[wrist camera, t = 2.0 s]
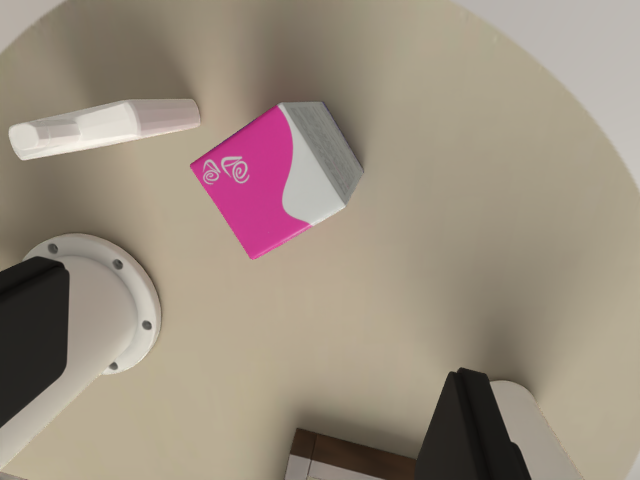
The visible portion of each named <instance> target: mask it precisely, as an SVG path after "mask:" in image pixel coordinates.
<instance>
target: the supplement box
mask: <svg viewBox="0 0 640 480" xmlns="http://www.w3.org/2000/svg"><path fill="white" fill-rule="evenodd" d="M190 167H191V169H192V171H193V172H194V174H195V175H196V177H197V178H198V180H199V181H200V183H201V184H202V186H203V187H204V189H205V190H206V192H207V193H208V194H209V196H210V197H211V199H212V200H213V201H214V203H215V204H216V206H217V207H218V209H219V211H220V212H221V214H222V215H223V217H224V218H225V220H226V221H227V223H228V225H229V226H230V228H231V229H232V231H233V232H234V234H235V235H236V237H237V238H238V240H239V242H240V243H241V245H242V246H243V248H244V249H245V251H246V253H247V254H248V256H249V257H250V259H252V260H253V259H256V258H258V257H260V256H262V255H264V254H266V253H268V252H269V251H271V250H273V249H275V248H276V247H278V246H280V245H282V244H283V243H285V242H287V241H289V240H290V239H292V238H294V237H296V236H297V235H299V234H301V233H302V232H304V231H306V230H308V229H309V228H311V227H313V226H314V225H316V224H318V223H319V222H321V221H323V220H325V219H326V218H328V217H330V216H331V215H333V214H335V213H336V212H338V211H340V210H342V209H343V208H345V207H346V205H347V203H348V201H349V199H350V197H351V195H352V193H353V191H354V189H355V187H356V185H357V183H358V181H359V179H360V177H361V176H362V174H363V173H364V171H363V169H362V167H361V165H360V164H359V162H358V160H357V158H356V157H355V155H354V153H353V152H352V150H351V148H350V146H349V145H348V143H347V141H346V139H345V138H344V136H343V134H342V133H341V131H340V129H339V127H338V126H337V124H336V122H335V121H334V119H333V117H332V116H331V114H330V112H329V110H328V109H327V107H326V105H325V104H324V102H281V103H279V104H277V105H275V106H274V107H272V108H271V109H269V110H268V111H266V112H265V113H264V114H262V115H261V116H259V117H258V118H256V119H255V120H253V121H252V122H251V123H249V124H248V125H246V126H245V127H243V128H242V129H240V130H239V131H237V132H236V133H235V134H233V135H232V136H230V137H229V138H227V139H226V140H225V141H223V142H222V143H220V144H219V145H217V146H216V147H214V148H213V149H212V150H210V151H209V152H207V153H206V154H204V155H203V156H202V157H200V158H199V159H197V160H196V161H194V162H193V163H191V164H190Z"/></svg>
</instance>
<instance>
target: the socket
mask: <svg viewBox="0 0 640 480" xmlns="http://www.w3.org/2000/svg"><path fill="white" fill-rule="evenodd" d="M416 461H417V460H415V459H411V458H408V457H404V456H400V455H396V454H393V453H389V452H385V451H381V450H377V449H374V448H370V447H366V446H362V445H359V444H355V443H351V442H347V441H343V440H340V439H336V438H332V437H328V436H325V435H321V434H316V433H313V432H310V431H306V430H302V429H298V428H297V429H296V432H295V436H294V440H293V443H292V447H291V450H290V454H289V459H288V463H287V468H286V473H285V477H284V480H306V479H307V475H308V476H310V477H313V478H317V479H321V480H414V472H415V465H416Z"/></svg>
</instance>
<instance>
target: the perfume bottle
mask: <svg viewBox="0 0 640 480" xmlns="http://www.w3.org/2000/svg"><path fill="white" fill-rule="evenodd" d="M199 126H200V114H199V110H198V107H197V105H196V103H195V101H194V100H192V99H128V100H124V101H117V102H113V103H108V104H104V105H99V106H95V107H91V108H86V109H82V110H77V111H73V112H69V113H64V114H60V115H55V116H51V117H47V118H42V119H38V120H33V121H29V122H24V123H19V124H15V125H13V126H10V127H9V133H8V134H9V139H10V142H11V144H12V147H13V150H14V151H15V153H16V154H17V156H18V157H19V158H20V159H21V160H28V159H34V158H40V157H45V156H51V155H57V154H63V153H68V152H74V151H80V150H86V149H91V148H97V147H103V146H108V145H113V144H118V143H123V142H128V141H133V140H137V139H142V138H147V137H152V136H157V135H162V134H167V133H171V132H176V131H181V130H186V129H191V128H196V127H199Z"/></svg>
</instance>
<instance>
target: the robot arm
mask: <svg viewBox="0 0 640 480" xmlns="http://www.w3.org/2000/svg"><path fill="white" fill-rule="evenodd" d="M160 326H161V306H160V302H159V299H158V295H157V292H156V290H155V288H154V285H153V283H152V281H151V279H150V278H149V276H148V275H147V273H146V272H145V270H144V269H143V268H142V266H141V265H140V264H139V263H138V262H137V261H136V260H135V259H134V258H133V257H132V256H131V255H129V254H128V253H127V252H126V251H124V250H123V249H122V248H120V247H119V246H117V245H115V244H113V243H111V242H109V241H108V240H105V239H102V238H99V237H96V236H93V235H87V234H80V233H74V234H64V235H60V236H56V237H53V238H51V239H48V240H46V241H44V242H42V243H40V244H38V245H37V246H36V247H34V248H33V249H31V250H30V251H29V253H28V254H27V255H26V256H25V257H24V259H23V260H22V262H21V263H19V264H16V265H14V266H12V267H10V268H8V269H5V270H3V271H1V272H0V470H1V469H2V468H3V467H4V466H5V465H6V464H7V463H8V462H10V461H11V460H12V459H13V458H14V457H15V456H16V455H17V454H18V453H19V452H20V451H21V450H22V449H23V448H24V447H25V446H26V445H27V444H28V443H29V442H30V441H31V440H32V439H33V438H34V437H35V436H36V435H38V434H39V433H40V432H41V431H42V430H43V429H44V428H45V427H46V426H47V425H48V424H49V423H50V422H51V421H52V420H53V419H54V418H55V417H56V416H57V415H58V414H59V413H60V412H61V411H62V410H63V409H65V408H66V407H67V406H68V405H69V404H70V403H71V402H72V401H73V400H74V399H75V398H76V397H77V396H78V395H79V394H80V393H81V392H82V391H83V390H84V389H85V388H86V387H87V386H88V385H89V384H90V383H91V382H93V381H94V380H95V379H96V378H97V377H98V376H99V375H100V374H113V373H119V372H122V371H124V370H127V369H129V368H131V367H133V366H134V365H136V364H137V363H138V362H140V361H141V360H142V359H143V358H144V357H145V356H146V355H147V354H148V353H149V351H150V350H151V349H152V347H153V346H154V344H155V343H156V340H157V337H158V335H159V332H160ZM0 480H27V479H23V478H20V477H17V476H13V475H10V474H6V473H3V472H0ZM414 480H532V479H531V476H530V474H529V471H528V468H527V466H526V463H525V460H524V458H523V455H522V452H521V450H520V448H519V447H518V445H517V444H516V443H514V442H511V440H510V437H509V435H508V432H507V429H506V426H505V424H504V421H503V418H502V415H501V413H500V410H499V407H498V404H497V401H496V399H495V396H494V393H493V390H492V388H491V385H490V382H489V379H488V377H487V375H486V374H484V373H480V372H477V371H473V370H469V369H465V368H459V370H458V371H457V373H456V372H452V371H451V372H449V374H448V376H447V378H446V381H445V384H444V387H443V389H442V392H441V395H440V398H439V400H438V403H437V406H436V409H435V411H434V414H433V417H432V420H431V422H430V425H429V428H428V431H427V433H426V436H425V439H424V441H423V444H422V447H421V450H420V452H419V455H418V458H417V461H416V465H415V472H414Z"/></svg>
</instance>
